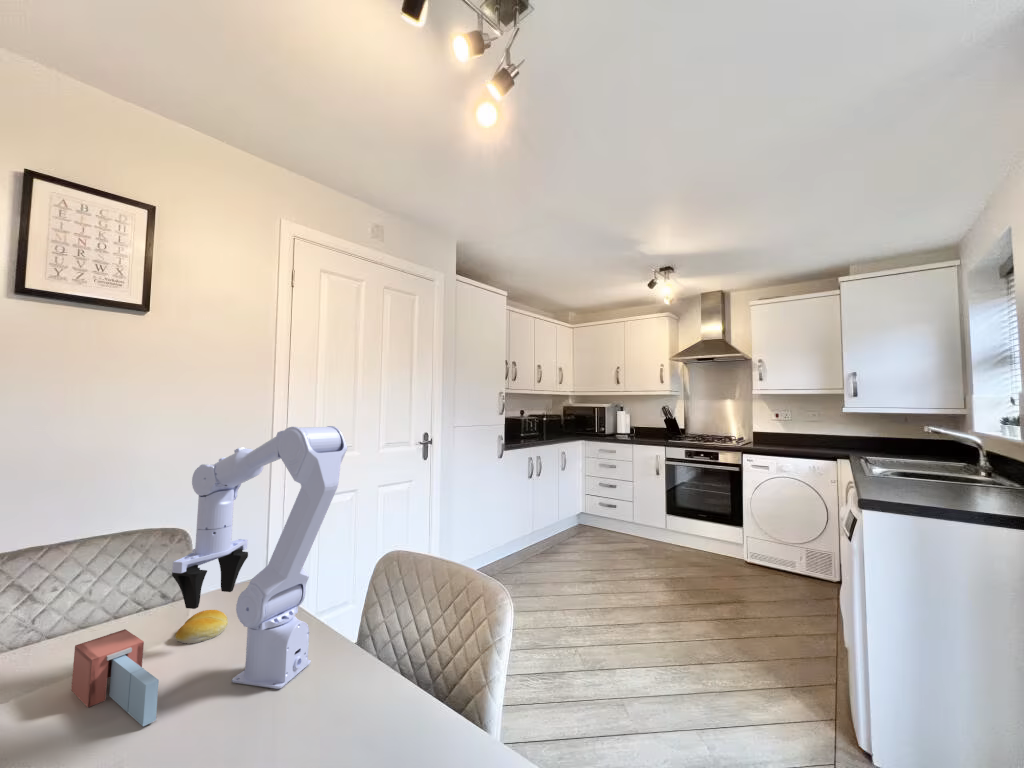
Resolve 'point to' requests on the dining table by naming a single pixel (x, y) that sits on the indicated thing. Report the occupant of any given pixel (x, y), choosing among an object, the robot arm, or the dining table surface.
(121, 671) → the blue-grey rectangular box
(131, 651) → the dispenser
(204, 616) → the bread roll
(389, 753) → the dining table surface
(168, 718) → the dining table surface
